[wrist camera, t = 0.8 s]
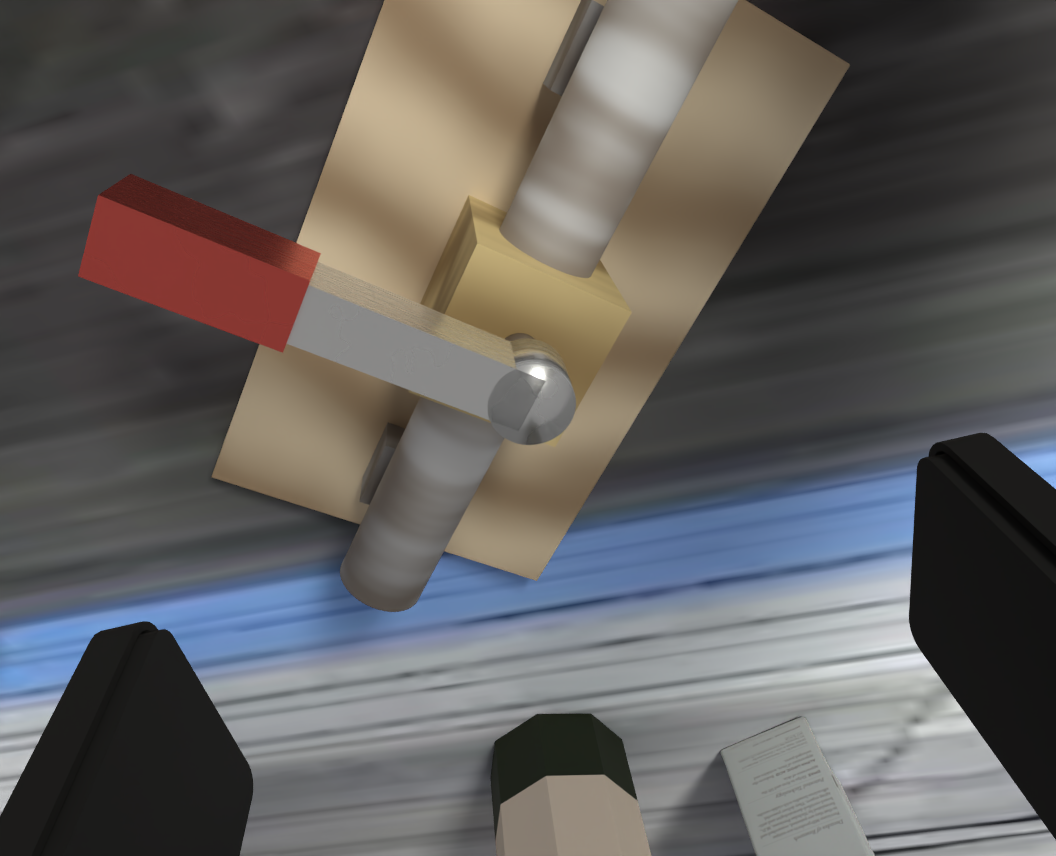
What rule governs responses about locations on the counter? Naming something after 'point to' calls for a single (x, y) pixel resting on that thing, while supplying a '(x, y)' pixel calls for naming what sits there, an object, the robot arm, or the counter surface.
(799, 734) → the skincare box
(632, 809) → the wine bottle
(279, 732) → the counter surface
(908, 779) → the counter surface
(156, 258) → the valve lever
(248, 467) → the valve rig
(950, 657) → the robot arm
